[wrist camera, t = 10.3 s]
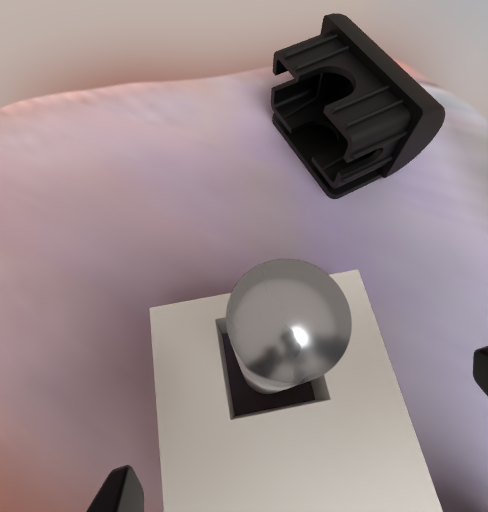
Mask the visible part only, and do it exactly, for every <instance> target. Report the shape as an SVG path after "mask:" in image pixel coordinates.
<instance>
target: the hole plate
mask: <svg viewBox="0 0 488 512" xmlns="http://www.w3.org/2000/svg"><path fill="white" fill-rule="evenodd" d="M329 276H330V277H331V278H333V279H334V281H335V282H336V283H337V284H338V285H339V287H340V288H341V290H342V291H343V293H344V295H345V297H346V299H347V302H348V304H349V307H350V312H351V319H352V330H351V336H350V341H349V344H348V346H347V349H346V351H345V353H344V355H343V356H342V358H341V359H340V360H339V362H338V363H337V364H336V365H335V366H334V367H333V368H332V369H331V370H329V371H328V372H327V373H325V374H324V375H322V376H320V377H318V378H316V379H313V380H311V384H312V388H313V392H314V396H315V400H312V401H307V402H303V403H298V404H293V405H288V406H283V407H278V408H273V409H268V410H263V411H258V412H254V413H249V414H244V415H239V416H235V415H234V408H233V402H232V396H231V389H230V383H229V376H228V370H227V364H226V357H225V351H224V344H223V338H222V334H224V333H228V332H227V327H226V309H227V304H228V301H229V298H230V295H231V293H227V294H222V295H216V296H211V297H205V298H200V299H194V300H189V301H184V302H178V303H173V304H167V305H162V306H157V307H151V308H149V309H150V323H151V337H152V351H153V365H154V380H155V394H156V408H157V422H158V436H159V450H160V464H161V478H162V492H163V506H164V512H443V511H442V508H441V505H440V502H439V499H438V496H437V494H436V491H435V488H434V485H433V482H432V479H431V476H430V473H429V471H428V468H427V465H426V462H425V459H424V456H423V453H422V451H421V448H420V445H419V442H418V439H417V436H416V433H415V430H414V428H413V425H412V422H411V419H410V416H409V413H408V410H407V408H406V405H405V402H404V399H403V396H402V393H401V390H400V388H399V385H398V382H397V379H396V376H395V373H394V370H393V367H392V365H391V362H390V359H389V356H388V353H387V350H386V347H385V345H384V342H383V339H382V336H381V333H380V330H379V327H378V324H377V322H376V319H375V316H374V313H373V310H372V307H371V304H370V302H369V299H368V296H367V293H366V290H365V287H364V284H363V281H362V279H361V276H360V273H359V270H358V269H357V270H352V271H346V272H341V273H335V274H330V275H329Z"/></svg>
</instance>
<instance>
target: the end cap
mask: <svg viewBox="0 0 488 512" xmlns="http://www.w3.org/2000/svg"><path fill="white" fill-rule="evenodd" d="M286 71H289V72H290V74H291V75H292V76H293V77H294V78H295V79H293V80H291V81H288V82H286V83H283V84H281V85H278V86H276V87H273V88H272V92H271V106H272V109H273V111H274V114H273V120H272V121H273V124H274V125H275V127H276V128H277V129H278V131H279V132H280V133H281V135H282V136H283V137H284V139H285V140H286V141H287V143H288V144H289V145H290V147H291V148H292V149H293V150H294V152H295V153H296V154H297V156H298V157H299V158H300V160H301V161H302V162H303V164H304V165H305V166H306V168H307V169H308V170H309V172H310V173H311V174H312V176H313V177H314V178H315V180H316V181H317V182H318V184H319V185H320V186H321V188H322V189H323V190H324V192H325V193H326V194H327V196H328V197H330V198H332V199H338V198H340V197H342V196H344V195H347V194H349V193H351V192H353V191H355V190H357V189H359V188H361V187H363V186H365V185H367V184H369V183H371V182H373V181H376V180H377V179H379V178H381V177H383V178H386V177H388V176H389V175H391V174H393V173H395V172H396V171H398V170H399V169H401V168H402V167H404V166H405V165H406V164H408V163H409V162H410V161H411V160H413V159H414V158H415V157H416V156H417V155H418V154H419V153H420V152H421V151H422V150H423V149H424V148H425V147H426V146H427V145H428V144H429V143H430V142H431V141H432V139H433V138H434V137H435V135H436V134H437V133H438V131H439V129H440V128H441V126H442V124H443V122H444V118H445V110H444V107H443V106H442V105H441V104H439V103H438V102H437V101H436V100H435V99H434V98H433V97H432V96H431V95H430V94H429V93H428V92H427V91H426V90H425V89H424V88H422V87H421V86H420V85H419V84H418V83H417V82H416V81H415V80H414V79H413V78H412V77H411V76H410V75H409V74H408V73H407V72H405V71H404V70H403V69H402V68H401V67H400V66H399V65H398V64H397V63H396V62H395V61H394V60H393V59H392V58H391V57H390V56H388V55H387V54H386V53H385V52H384V51H383V50H382V49H381V48H380V47H379V46H378V45H377V44H376V43H375V42H374V41H373V40H371V39H370V38H369V37H368V36H367V35H366V34H365V33H364V32H363V31H362V30H361V29H360V28H358V26H357V25H356V24H354V23H353V22H352V21H351V20H350V19H349V18H348V17H347V16H345V15H342V14H330V15H325V16H324V19H323V23H322V30H321V34H320V35H319V36H316V37H313V38H311V39H308V40H306V41H303V42H300V43H297V44H295V45H292V46H290V47H287V48H284V49H282V50H279V51H276V52H275V53H274V60H273V73H274V74H275V76H276V75H278V74H281V73H284V72H286Z"/></svg>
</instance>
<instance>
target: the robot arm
mask: <svg viewBox="0 0 488 512" xmlns="http://www.w3.org/2000/svg"><path fill="white" fill-rule="evenodd" d="M473 377H474V379H475V381H476V383H477V384H478V385H479V387H480V388H481V389H482V390H483V391H484V392H485V394H486V395H487V396H488V346H486V347H483V348H480V349H477V350H475V352H474V357H473ZM86 512H144V494H143V489H142V486H141V484H140V482H139V480H138V478H137V476H136V474H135V472H134V470H133V468H132V467H131V466H130V465H126V466H123V467H120V468H116V469H114V470H112V471H111V472H110V474H109V475H108V477H107V479H106V480H105V482H104V483H103V485H102V487H101V488H100V490H99V492H98V493H97V495H96V497H95V498H94V500H93V502H92V503H91V505H90V506H89V508H88V510H87V511H86Z"/></svg>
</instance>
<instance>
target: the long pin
mask: <svg viewBox="0 0 488 512" xmlns="http://www.w3.org/2000/svg"><path fill="white" fill-rule="evenodd" d="M226 327H227V332H228V336H229V339H230V342H231V345H232V347H233V350H234V353H235V355H236V358H237V361H238V363H239V366H240V369H241V371H242V374H243V376H244V379H245V381H246V382H247V384H248V385H249V386H250V387H251V388H252V389H254V390H255V391H257V392H260V393H264V394H272V393H276V392H279V391H282V390H285V389H288V388H291V387H294V386H296V385H299V384H302V383H305V382H308V381H311V380H313V379H316V378H318V377H320V376H322V375H324V374H325V373H327V372H328V371H329V370H331V369H332V368H333V367H334V366H335V365H336V364H337V363H338V362H339V360H340V359H341V358H342V356H343V355H344V353H345V351H346V349H347V346H348V344H349V341H350V336H351V330H352V319H351V312H350V307H349V304H348V302H347V299H346V297H345V295H344V293H343V291H342V290H341V288H340V287H339V285H338V284H337V283H336V282H335V281H334V279H333V278H331V277H330V276H329V275H328V274H327V273H326V272H324V271H323V270H321V269H320V268H318V267H316V266H314V265H312V264H309V263H307V262H304V261H300V260H294V259H277V260H272V261H268V262H265V263H262V264H260V265H258V266H256V267H254V268H253V269H251V270H250V271H248V272H247V273H246V274H245V275H244V276H243V277H242V278H241V279H240V280H239V281H238V283H237V284H236V286H235V287H234V289H233V291H232V293H231V295H230V298H229V301H228V304H227V309H226Z"/></svg>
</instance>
